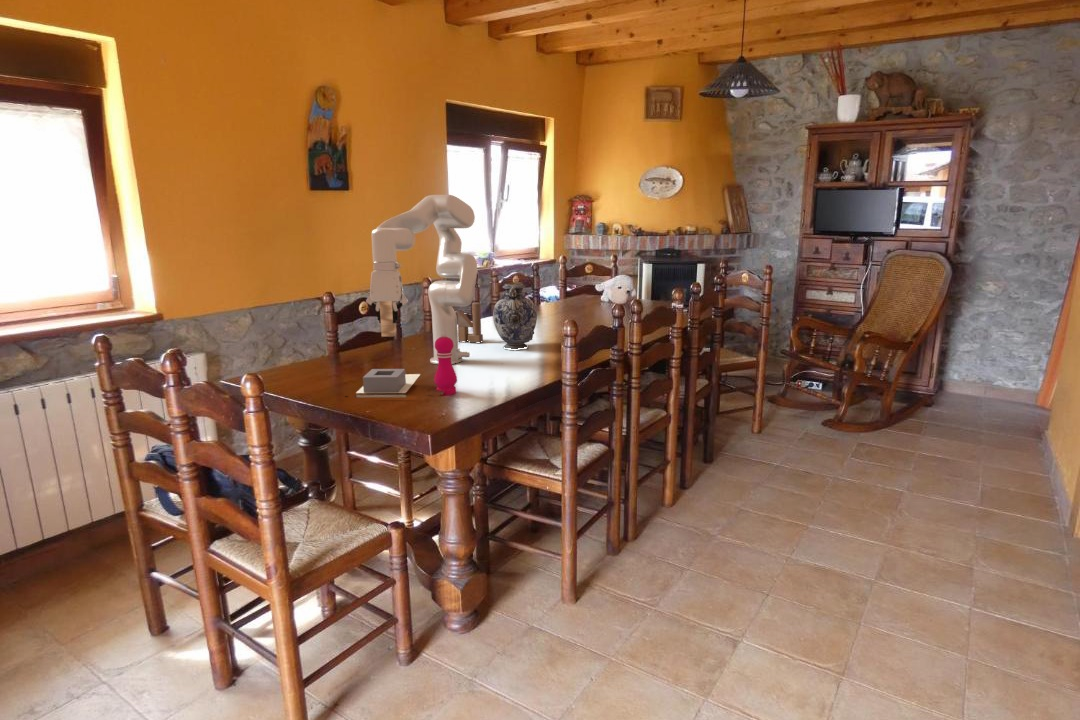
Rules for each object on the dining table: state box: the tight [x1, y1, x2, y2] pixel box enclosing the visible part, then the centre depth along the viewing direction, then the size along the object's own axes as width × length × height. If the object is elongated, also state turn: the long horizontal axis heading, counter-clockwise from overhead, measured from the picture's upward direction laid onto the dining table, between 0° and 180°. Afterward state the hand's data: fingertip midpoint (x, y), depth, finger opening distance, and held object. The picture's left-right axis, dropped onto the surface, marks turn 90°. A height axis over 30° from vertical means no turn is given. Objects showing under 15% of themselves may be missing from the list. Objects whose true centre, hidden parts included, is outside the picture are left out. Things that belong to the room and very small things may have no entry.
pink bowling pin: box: [433, 332, 458, 396], centre depth 207 cm, size 7×7×20 cm
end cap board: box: [355, 368, 421, 399], centre depth 215 cm, size 16×24×6 cm, turn 179°
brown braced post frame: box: [456, 302, 484, 342], centre depth 288 cm, size 4×11×18 cm, turn 69°
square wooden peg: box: [379, 301, 397, 337], centre depth 214 cm, size 4×4×12 cm
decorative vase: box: [492, 281, 538, 349], centre depth 274 cm, size 21×19×28 cm
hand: (388, 322), depth 214 cm, fingers closed on square wooden peg, 4 cm apart
